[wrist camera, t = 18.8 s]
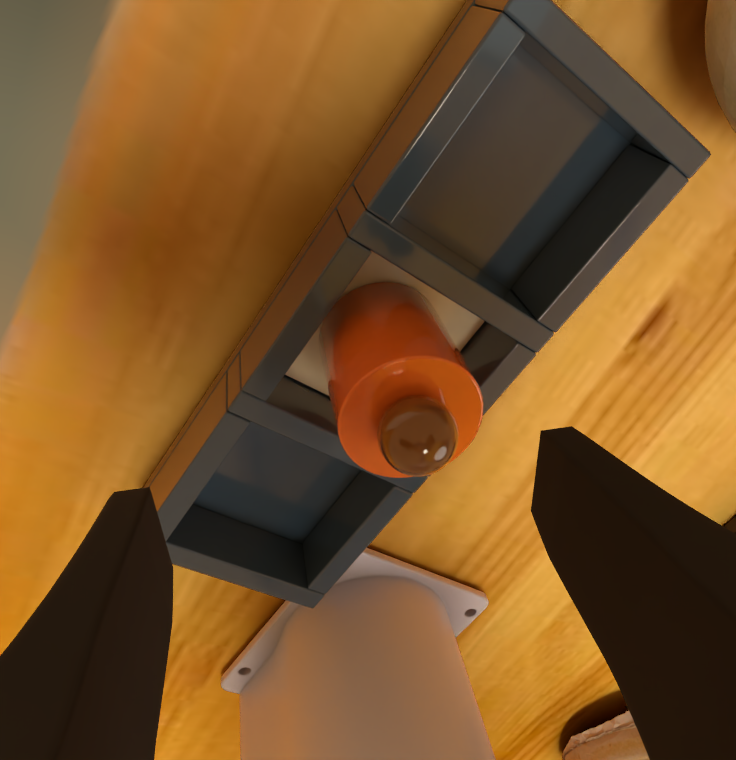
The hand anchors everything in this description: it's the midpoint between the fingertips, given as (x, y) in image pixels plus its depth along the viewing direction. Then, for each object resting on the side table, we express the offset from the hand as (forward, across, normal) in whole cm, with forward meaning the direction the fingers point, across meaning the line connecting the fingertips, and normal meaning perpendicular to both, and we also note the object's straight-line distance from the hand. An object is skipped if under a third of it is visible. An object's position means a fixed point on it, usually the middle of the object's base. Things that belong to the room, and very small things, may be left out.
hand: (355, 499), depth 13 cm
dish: (+9, -2, +2) cm, 10 cm away
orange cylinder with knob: (+9, -2, +2) cm, 9 cm away
